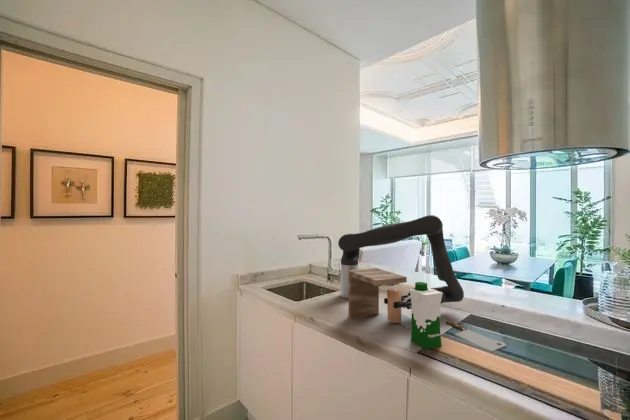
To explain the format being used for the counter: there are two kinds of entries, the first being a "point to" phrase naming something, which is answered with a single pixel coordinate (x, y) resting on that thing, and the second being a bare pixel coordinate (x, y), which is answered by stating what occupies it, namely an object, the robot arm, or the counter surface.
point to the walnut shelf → (368, 290)
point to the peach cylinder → (392, 297)
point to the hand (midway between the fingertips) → (389, 303)
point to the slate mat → (405, 321)
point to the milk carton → (425, 316)
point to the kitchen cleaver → (477, 338)
